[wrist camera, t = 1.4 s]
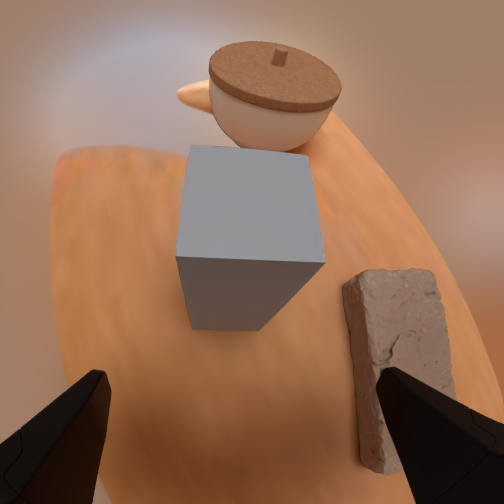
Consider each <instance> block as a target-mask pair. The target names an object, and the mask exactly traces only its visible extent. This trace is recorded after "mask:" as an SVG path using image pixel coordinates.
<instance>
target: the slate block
mask: <svg viewBox="0 0 504 504" xmlns="http://www.w3.org/2000/svg"><path fill="white" fill-rule="evenodd" d="M176 261H177V265H178V270H179V275H180V279H181V284H182V288H183V292H184V297H185V301H186V305H187V309H188V313H189V317H190V321H191V325H192V329H204V330H253V331H259V330H260V329H261V328H262V327H263V326H264V325H265V324H266V323H267V322H268V321H269V320H270V319H272V318H273V317H274V316H275V315H276V314H277V313H278V312H279V311H280V310H281V309H282V308H283V307H284V305H285V304H286V303H287V302H288V301H289V300H290V299H291V298H292V297H293V296H294V295H295V294H296V293H297V292H298V291H299V290H300V289H301V288H302V287H303V286H304V285H305V284H306V283H307V282H308V281H309V280H310V279H311V278H312V277H313V276H314V274H315V273H316V272H317V271H318V270H319V269H320V268H321V267H322V266H323V265H324V264H325V263H326V261H325V253H324V246H323V239H322V233H321V226H320V220H319V214H318V208H317V202H316V196H315V190H314V185H313V179H312V174H311V169H310V164H309V159H308V156H307V155H300V154H292V153H284V152H276V151H267V150H257V149H246V148H233V147H219V146H198V145H190V150H189V156H188V162H187V168H186V175H185V182H184V189H183V196H182V204H181V211H180V220H179V228H178V237H177V247H176Z"/></svg>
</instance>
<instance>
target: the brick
mask: <svg viewBox="0 0 504 504" xmlns="http://www.w3.org/2000/svg"><path fill="white" fill-rule="evenodd" d="M342 294H343V299H344V310H345V315H346V320H347V324H348V327H349V329H350V331H351V333H350V349H351V355H352V360H353V364H354V371H353V376H354V382H355V392H356V396H357V399H356V407H357V415H358V434H359V440H360V456H361V462H362V464H363V465H364V466H365V467H366V468H368V469H371V470H372V471H373V472H375V473H381V474H385V475H388V474H392V473H394V472H397V471H399V470H401V469H403V467H402V464H401V462H400V459H399V456H398V454H397V451H396V449H395V446H394V444H393V441H392V439H391V436H390V434H389V431H388V429H387V426H386V423H385V420H384V417H383V413H382V410H381V406H380V403H379V400H378V396H377V393H376V383H377V381H378V379H379V377H380V375H381V372H382V370H383V369H384V368H386V367H392V366H395V367H397V368H399V369H400V370H402V371H404V372H406V373H407V374H409V375H411V376H413V377H414V378H416V379H418V380H420V381H422V382H423V383H425V384H427V385H429V386H430V387H432V388H434V389H436V390H438V391H439V392H441V393H443V394H445V395H447V396H449V397H450V398H452V399H454V400H456V391H455V388H454V381H453V377H452V375H451V367H452V365H451V355H450V345H449V339H448V330H447V325H446V319H445V311H444V307H443V304H442V303H441V295H440V292H439V290H438V288H437V286H436V278H435V276H434V274H433V273H432V272H431V271H429V270H422V269H415V268H411V269H409V270H392V271H390V270H385V269H379V270H365V271H363V272H361V273H360V274H358V275H356V276H355V277H354V278H352V279H350V280H349V281H348V282H346V283H345V284H344V285H343V291H342ZM456 401H457V400H456Z"/></svg>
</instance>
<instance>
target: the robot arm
mask: <svg viewBox="0 0 504 504" xmlns="http://www.w3.org/2000/svg"><path fill="white" fill-rule="evenodd" d="M376 393H377V396H378V400H379V403H380V406H381V410H382V413H383V417H384V420H385V423H386V426H387V429H388V431H389V434H390V436H391V439H392V441H393V444H394V446H395V449H396V451H397V454H398V456H399V459H400V462H401V464H402V467H403V469H404V472H405V475H406V477H407V480H408V483H409V486H410V488H411V491H412V494H413V497H414V500H415V503H416V504H504V424H502V423H500V422H497V421H495V420H493V419H490V418H488V417H486V416H484V415H482V414H480V413H478V412H476V411H474V410H472V409H469V407H467V406H465V405H463V404H461V403H459V402H458V401H456V400H454V399H452V398H450V397H449V396H447V395H445V394H443V393H441V392H439V391H438V390H436V389H434V388H432V387H430V386H429V385H427V384H425V383H423V382H422V381H420V380H418V379H416V378H414V377H413V376H411V375H409V374H407V373H406V372H404V371H402V370H400V369H399V368H397V367H395V366H392V367H386V368H384V369H383V370H382V372H381V375H380V377H379V379H378V381H377V383H376ZM110 401H111V387H110V384H109V381H108V378H107V374H106V372H105V371H102V370H95V369H93V370H91V371H90V372H89V373H87V374H86V375H85V376H84V377H82V378H81V379H80V380H79V381H77V382H76V383H75V384H74V385H72V386H71V387H70V388H69V389H68V390H66V391H65V392H64V393H63V394H61V395H60V396H59V397H58V398H56V399H55V400H54V401H53V402H52V403H50V404H49V405H48V406H47V407H45V408H44V409H43V410H42V411H41V412H39V413H38V414H37V415H36V416H34V417H33V418H32V419H31V420H29V421H28V422H27V423H26V424H25V425H23V426H22V427H21V430H20V429H19V430H17V431H16V432H15V433H14V434H12V435H11V436H10V437H8V438H7V439H6V440H5V441H3V442H2V443H1V444H0V504H92V502H93V496H94V490H95V485H96V480H97V475H98V470H99V465H100V460H101V456H102V451H103V447H104V443H105V438H106V432H107V424H108V416H109V408H110Z"/></svg>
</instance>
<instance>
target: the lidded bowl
mask: <svg viewBox="0 0 504 504" xmlns="http://www.w3.org/2000/svg"><path fill="white" fill-rule="evenodd" d="M209 74H210V80H209V96H210V103H211V108H212V112H213V115H214V117H215V119H216V121H217V123H218V125H219V126H220V128H221V129H222V130H223V131H224V133H225V134H226V135H227V136H229V137H230V138H231V139H232V140H233V141H234V142H235V143H236V144H237V145H238V146H240V147H241V148H246V149H257V150H267V151H276V152H283V151H288V150H291V149H294V148H296V147H298V146H300V145H302V144H304V143H305V142H307V141H308V140H309V139H311V138H312V137H313V136H314V135H315V134H316V133H317V131H318V130H319V129H320V128H321V127H322V125H323V124H324V122H325V121H326V119H327V117H328V115H329V113H330V111H331V109H332V107H333V105H334V103H335V102H336V101H337V99H338V97H339V95H340V92H341V83H340V79H339V78H338V76H337V74H336V73H335V72H334V71H333V70H332V69H331V68H330V67H329V66H328V65H327V64H325V63H324V62H323V61H321V60H319V59H318V58H316V57H314V56H312V55H310V54H308V53H306V52H304V51H301V50H299V49H296V48H292V47H289V46H286V45H282V44H277V43H270V42H258V41H249V42H239V43H233V44H230V45H226V46H224V47H222V48H220V49H219V50H217V51H216V52H215V53H214V54H213V55H212V56H211V58H210V62H209Z"/></svg>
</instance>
